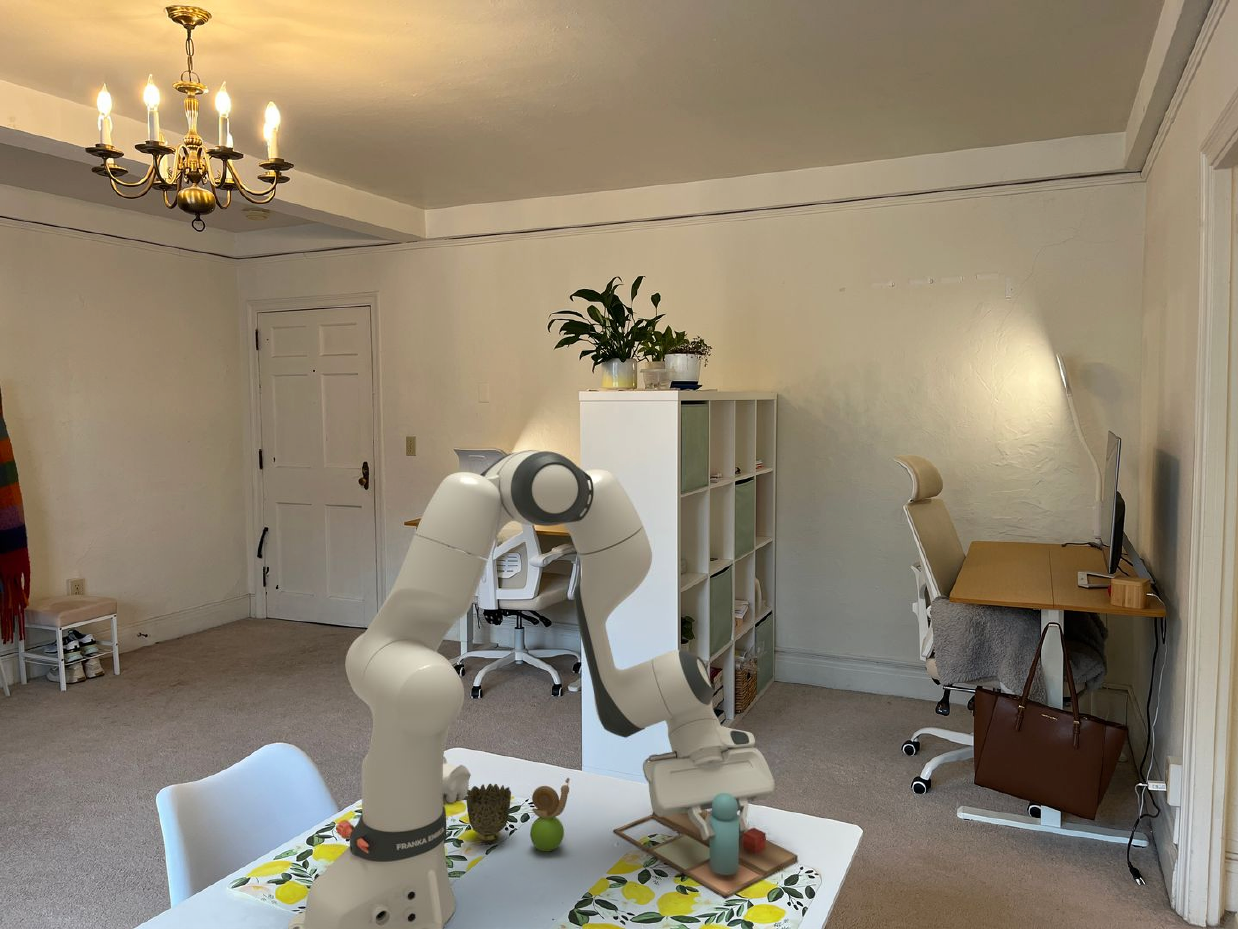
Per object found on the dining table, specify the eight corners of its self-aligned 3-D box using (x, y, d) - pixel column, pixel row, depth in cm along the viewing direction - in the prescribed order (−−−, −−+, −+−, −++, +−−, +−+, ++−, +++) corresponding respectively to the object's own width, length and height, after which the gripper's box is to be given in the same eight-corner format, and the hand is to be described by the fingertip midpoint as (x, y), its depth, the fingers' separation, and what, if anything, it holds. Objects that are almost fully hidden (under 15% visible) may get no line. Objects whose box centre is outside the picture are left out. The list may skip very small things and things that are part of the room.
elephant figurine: (412, 800, 158) (412, 762, 157) (456, 784, 164) (456, 747, 164) (436, 814, 152) (435, 775, 152) (480, 797, 159) (480, 759, 159)
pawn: (724, 878, 129) (725, 803, 129) (703, 866, 133) (704, 793, 132) (744, 868, 132) (745, 795, 131) (723, 857, 136) (724, 785, 135)
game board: (725, 905, 126) (725, 865, 126) (613, 838, 146) (613, 803, 146) (797, 867, 137) (798, 830, 136) (683, 809, 157) (683, 777, 156)
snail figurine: (564, 860, 137) (564, 786, 136) (526, 855, 138) (525, 782, 137) (573, 843, 142) (573, 772, 142) (535, 839, 144) (535, 768, 143)
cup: (507, 851, 139) (507, 803, 139) (462, 850, 140) (461, 802, 139) (514, 829, 147) (514, 783, 146) (471, 828, 147) (470, 782, 147)
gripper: (645, 748, 134) (669, 838, 126) (761, 732, 141) (792, 817, 133) (634, 765, 139) (657, 853, 130) (748, 748, 146) (776, 832, 137)
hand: (726, 835), depth 132 cm, fingers closed on pawn, 4 cm apart
